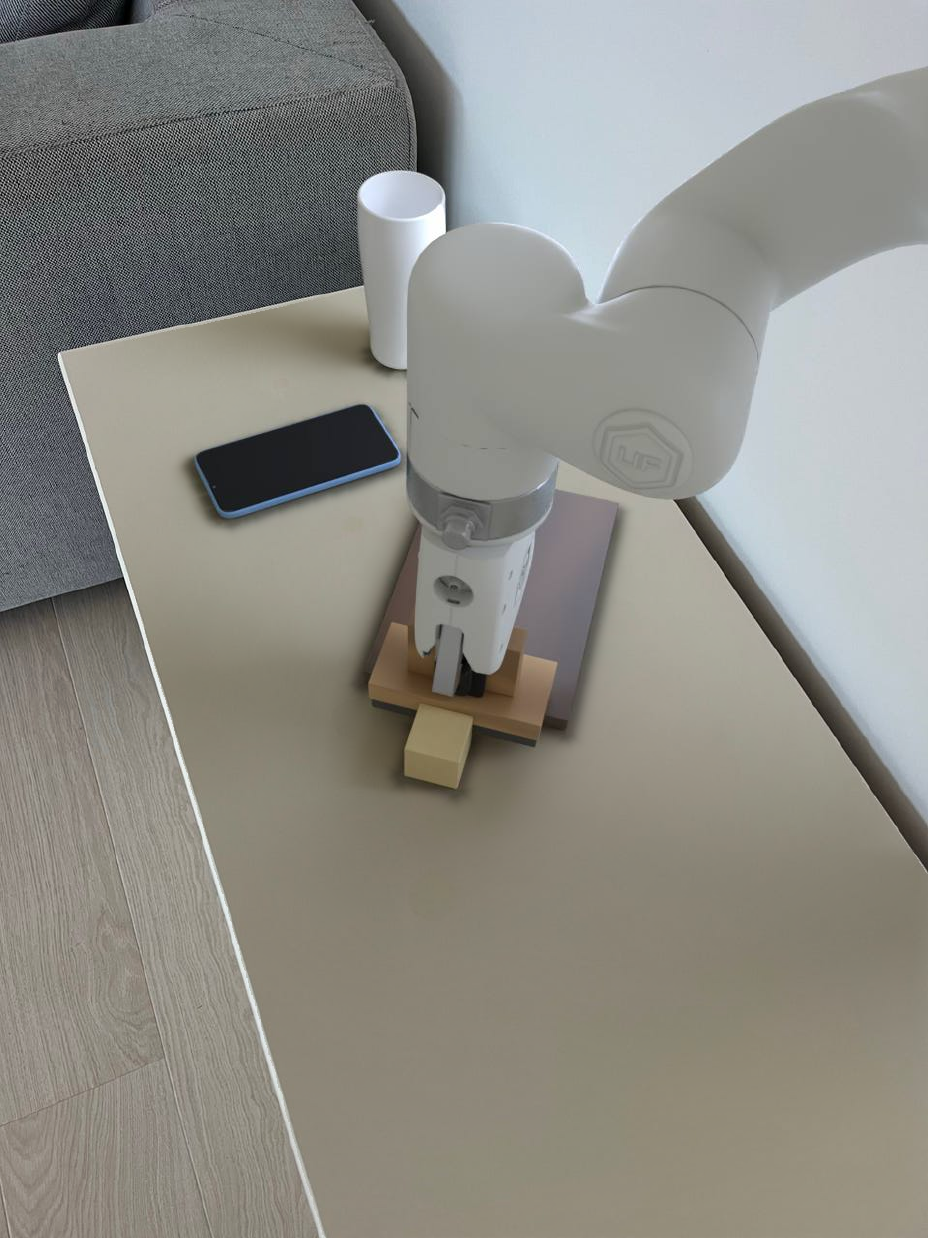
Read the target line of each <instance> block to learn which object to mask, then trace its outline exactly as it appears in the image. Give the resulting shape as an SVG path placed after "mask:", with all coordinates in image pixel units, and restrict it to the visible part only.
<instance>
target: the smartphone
mask: <svg viewBox="0 0 928 1238" xmlns="http://www.w3.org/2000/svg"><path fill="white" fill-rule="evenodd" d="M401 459H402V456H401V452H400V449H399V447H398V446H397V445H396V443H395V441H394V440H393V437H392V436H391V434H390V433H389V432H388V430H387V429H386V427H385V425H384V424H383V422H382V421H381V419H380V418H379V416H378V415H377V412H376V411H375V410H374V409H373V407H372V406H370V405H368V404H367V403H366V404H365V403H358V404H354V405H351V406H347V407H343V408H341V409H337V410H333V411H331V412H327V413H324V414H321V415H320V414H319V415H316V416H313V417H310V418H306V419H304V420H300V421H297V422H293V423H290V424H287V425H283V426H279V427H276V428H274V429H270V430H266V431H263V432H260V433H257V434H253V435H249V436H247V437H244V438H240V439H236V440H233V441H229V442H227V443H223V444H219V445H216V446H213V447H209V448H206V449H203V450H201V451H199V452H198V453H197V454H196V455H195V457H194V465H195V468H196V471H197V472H198V474H199V477H200V478H201V481H202V483H203V485H204V487H205V489H206V492H208V495H209V498H210V499H211V502H212V504H213V506H214V508H215V510H216V512H217V514H218V515H220V517H222V518H224V519H235V518H239V517H243V516H245V515H248V514H251V513H255V512H258V511H261V510H264V509H267V508H270V507H273V506H277V505H280V504H283V503H286V502H290V501H292V500H296V499H298V498H302V497H305V496H308V495H311V494H315V493H317V492H320V491H324V490H326V489H329V488H333V487H336V486H339V485H342V484H345V483H348V482H352V481H355V480H358V479H362V478H364V477H368V476H370V475H373V474H377V473H380V472H383V471H386V470H389V469H391V468H392V469H393V468H394V467H396V466H398V465H399V464H400V463H401Z"/></svg>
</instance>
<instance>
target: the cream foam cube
mask: <svg viewBox="0 0 928 1238" xmlns="http://www.w3.org/2000/svg"><path fill="white" fill-rule="evenodd" d="M472 726H473V716H471V715H467V714H463V713H459V712H455V711H451V710H447V709H443V708H439V707H435V706H431V705H427V704H423V703H420V705H419V708H418V711H417V714H416V716H415V718H414V719H413V723H412V725H411V729H410V731H409V735H408V737H407V741H406V743H405V746H404V749H403V750H404V758H403V759H404V770H403V771H404V773H403V775H404V776H405V777H409V778H412V779H415V780H420V781H424V782H427V783H432V784H435V785H439V786H443V787H447V788H450V789H454V790H457V789H458V787H459V784H460V780H461V778H462V774H463V771H464V767H465V764H466V761H467V757H468V754H469V751H470V748H471V745H472V735H473V732H472Z"/></svg>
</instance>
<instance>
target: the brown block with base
mask: <svg viewBox="0 0 928 1238" xmlns="http://www.w3.org/2000/svg"><path fill="white" fill-rule="evenodd" d="M415 604H416V603H415ZM526 635H527V629H524V628H520V627H516V626H513V629H512V633H511V636H510V639H509V643H508V646H507V649H506V652H505V655H504V658H503V661H502V664H501V666H500V668H499V669H498V670H497V671H496V672H494V673H493V674H490V675H487V677H486V685H485V691H484V694H483V697H481V698H476V697H472V696H468V695H467V696H457V695H454V696H453V697H451V696H447V695H443V694H439V693H435V692H432V686H433V680H434V666H435V645H436V643H435V645H434V646H433V648H432V651H431V653H430V656H427V655H426V657H425V658H422V657H421V656H420V654H419V653H418V651H417V648H416V644H415V606H414V609H413V611H412V614H411V617H410V620H409V622H408V626H405V625H401V624H397V623H393V622H392V623H391V625H390V627H389V630H388V633H387V635H386V638H385V640H384V643H383V646H382V648H381V651H380V654H379V656H378V659H377V661H376V664H375V667H374V669H373V672H372V675H371V677H370V680H369V682H367V685H368V687H367V688H368V698H369V699H370V701H371V707H372V708H375V709H379V710H383V711H387V712H391V713H394V714H398V715H402V716H406V717H410V718H414V719H415V716H416V714H417V711H418V708H419V705H420V703H423V704H427V705H431V706H435V707H439V708H443V709H447V710H451V711H455V712H459V713H463V714H467V715H471V716H473V726H472V734H473V733H474V734H477V735H481V736H486V737H489V738H494V739H497V740H502V741H504V742H509V743H513V744H517V745H521V746H525V747H530V748H534V749H535V748H536V747H537V744H538V741H539V739H540V736H541V732H542V729H543V721H544V717H545V713H546V709H547V705H548V701H549V697H550V693H551V690H552V686H553V682H554V678H555V673H556V668H557V662H554V661H550V660H545V659H541V658H537V657H533V656H529V655H525V654H524V648H525V642H526Z"/></svg>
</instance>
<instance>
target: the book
mask: <svg viewBox="0 0 928 1238" xmlns="http://www.w3.org/2000/svg"><path fill="white" fill-rule="evenodd" d="M619 505H620V503H619V502H617V501H614V500H613V501H611V500H608V499H602V498H599V497H593V496H591V495H590V496H589V495H585V494H581V493H575V492H571V491H567V490H561V489H557V488H555V491H554V497H553V503H552V507H551V510H550V512H549V514H548V516H547V518H546V519H545V521H544V522H543V523H542V524H541V525H540V526H539V527H538V528H537V529H536V530H535V540H534V550H533V557H532V562H531V566H530V570H529V574H528V578H527V582H526V585H525V589H524V592H523V596H522V599H521V603H520V606H519V609H518V613H517V616H516V620H515V623H514V626H516V627H520V628H524V629H527V635H526V642H525V648H524V654H525V655H529V656H533V657H537V658H541V659H545V660H550V661H554V662H557V668H556V673H555V678H554V682H553V686H552V690H551V693H550V697H549V701H548V705H547V709H546V713H545V717H544V721H543V724H542V726H547V727H551V728H555V729H560V730H564V731H567V730H568V725H569V721H570V716H571V711H572V707H573V703H574V699H575V694H576V691H577V685H578V681H579V677H580V674H581V670H582V669H581V668H582V664H583V659H584V655H585V652H586V647H587V642H588V639H589V633H590V630H591V626H592V620H593V616H594V612H595V608H596V604H597V600H598V595H599V591H600V587H601V581H602V578H603V574H604V569H605V564H606V560H607V556H608V552H609V548H610V543H611V539H612V535H613V530H614V526H615V522H616V518H617V513H618V508H619ZM421 532H422V523H421V522H420V521H419V523H418V525H417V528H416V531H415V533H414V535H413V538H412V542H411V544H410V546H409V549H408V552H407V555H406V557H405V560H404V562H403V565H402V568H401V571H400V573H399V575H398V578H397V581H396V583H395V587H394V590H393V592H392V595H391V597H390V600H389V603H388V605H387V608H386V610H385V613H384V615H383V619H382V621H381V624H380V627H379V630H378V632H377V635H376V637H375V640H374V642H373V645H372V648H371V651H370V653H369V656H368V658H367V661H366V664H365V666H364V669H363V682H365V683H369V680H370V677H371V675H372V672H373V669H374V667H375V664H376V661H377V659H378V656H379V654H380V651H381V648H382V646H383V643H384V640H385V638H386V635H387V633H388V630H389V627H390V625H391V623H392V622H393V623H397V624H401V625H405V626H408V622H409V620H410V617H411V614H412V611H413V609H414V606H415V603H416V588H417V575H418V563H419V558H418V553H419V551H420V542H421Z"/></svg>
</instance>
